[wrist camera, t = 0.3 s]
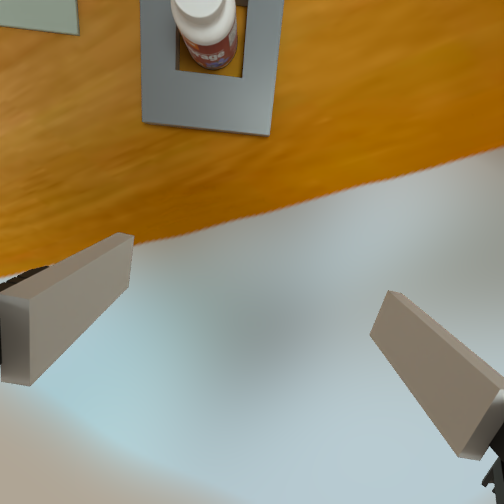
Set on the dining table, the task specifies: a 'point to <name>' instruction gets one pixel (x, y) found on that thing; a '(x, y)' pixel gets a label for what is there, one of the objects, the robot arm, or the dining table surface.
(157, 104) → the socket block
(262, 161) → the dining table surface
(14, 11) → the mat
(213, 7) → the pill bottle
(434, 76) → the dining table surface
